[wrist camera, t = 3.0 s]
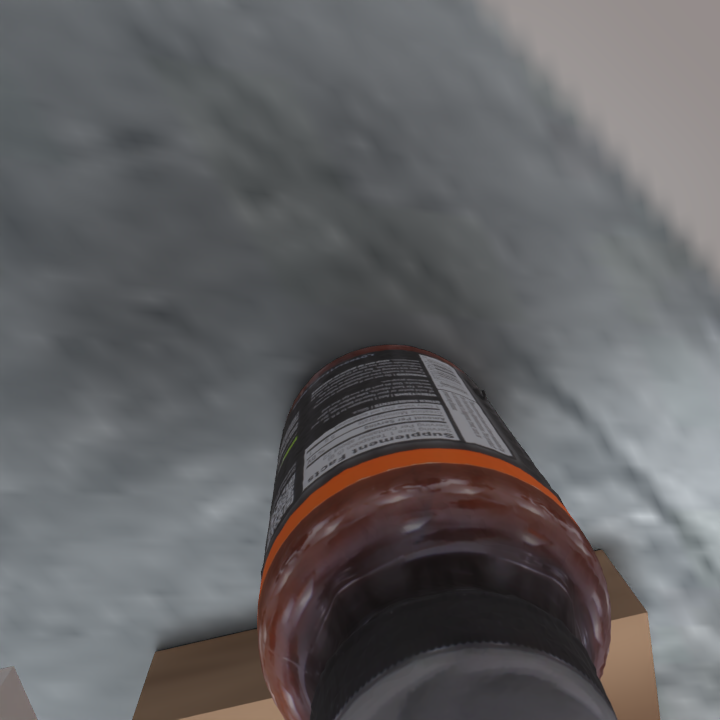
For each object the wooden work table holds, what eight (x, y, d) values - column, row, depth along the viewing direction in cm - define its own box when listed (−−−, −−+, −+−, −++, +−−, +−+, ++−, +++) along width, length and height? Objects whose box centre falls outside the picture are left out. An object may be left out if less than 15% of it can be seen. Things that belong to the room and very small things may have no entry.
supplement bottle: (493, 521, 20) (693, 938, 9) (293, 541, 20) (261, 990, 9) (488, 327, 19) (725, 562, 8) (270, 347, 18) (196, 615, 8)
